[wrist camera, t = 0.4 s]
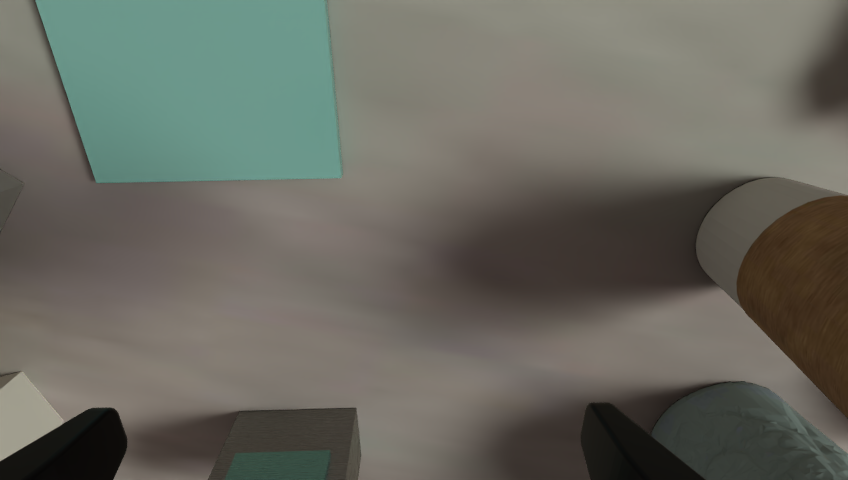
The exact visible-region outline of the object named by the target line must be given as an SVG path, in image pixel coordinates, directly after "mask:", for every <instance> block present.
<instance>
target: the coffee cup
mask: <svg viewBox="0 0 848 480" xmlns="http://www.w3.org/2000/svg"><path fill="white" fill-rule="evenodd" d="M696 254H697V258H698V261H699V264H700V265H701V267H702V268H703V270H704V271H705V272H706V274H707V275H708V276H709V277H710V278H711V279H712V280H714V281H715V282H716V283H717V284H718V285H719V286H720V287H721V288H722V289H723V290H724V291H725V292H726V293H727V294H728V295H729V296H730V297H731V298H732V299H733V300H734V301H735V302H736V303H737V304H738V305H739V306H740V307H741V308H742V309H743V310H744V311H745V313H746V314H747V315H748V316H749V317H750V318H751V319H752V320H753V321H754V322H755V323H756V324H757V325H758V326H759V327H760V328H761V329H762V330H763V331H764V332H765V333H766V335H767V336H768V337H769V338H770V339H771V340H772V341H773V342H774V343H775V344H776V345H777V346H778V347H779V348H780V349H781V350H782V351H783V352H784V353H785V354H786V355H787V356H788V357H789V358H790V359H791V360H792V361H793V362H794V363H795V364H796V365H797V367H798V368H799V369H800V370H801V371H802V372H803V373H804V374H805V375H806V376H807V377H808V378H809V379H810V380H811V381H812V382H813V383H814V384H815V385H816V386H817V387H818V388H819V389H820V390H821V391H822V392H823V393H824V394H825V395H826V396H827V397H828V398H829V400H830V401H831V402H832V403H833V404H834V405H835V406H836V407H837V408H838V409H839V410H840V411H841V412H842V413H843V414H844V415H845V416H846V417H847V418H848V195H845V194H841V193H838V192H834V191H830V190H827V189H823V188H819V187H816V186H812V185H808V184H805V183H801V182H797V181H794V180H790V179H785V178H773V177H772V178H764V179H758V180H755V181H752V182H748V183H746V184H744V185H742V186H740V187H738V188H735V189H734V190H732V191H731V192H729V193H728V194H726V195H725V196H724V197H723V198H722V199H720V200H719V201H718V202H717V203H716V204H715V205H714V206H713V207H712V209H711V210H710V211H709V212H708V214H707V215H706V217H705V219H704V220H703V222H702V224H701V226H700V229H699V232H698V234H697V240H696Z"/></svg>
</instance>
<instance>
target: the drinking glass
mask: <svg viewBox="0 0 848 480" xmlns="http://www.w3.org/2000/svg"><path fill="white" fill-rule="evenodd" d="M651 436H652V437H653V438H655V439H656V440H657V441H658V442H660V443H661V444H662V445H663V446H665V447H666V448H667V449H668V450H670V451H671V452H672V453H673V454H675V455H676V456H677V457H678V458H680V459H681V460H682V461H683V462H685V463H686V464H687V465H688V466H690V467H691V468H692V469H693V470H695V471H696V472H697V473H698V474H700V475H701V476H702V477H703V478H704V479H706V480H848V454H847V453H846V452H845V451H843V450H842V449H841V448H840V447H839V446H837V445H836V444H835V443H834V442H833V441H831V440H830V439H829V438H828V437H827V436H825V435H824V434H823V433H822V432H820V431H819V430H818V429H817V428H815V427H814V426H813V425H812V424H810V423H809V422H808V421H807V420H805V419H804V418H803V417H802V416H801V415H799V414H798V413H797V412H796V411H795V410H794V409H792V408H791V407H790V406H789V405H788V404H787V403H786V402H784V401H783V400H782V399H781V398H780V397H779V396H778V395H776V394H775V393H773V392H772V391H770V390H769V389H768V388H765V387H762V386H759V385H756V384H753V383H746V382H745V381H742V382H736V383H732V382H728V383H720V384H717V385H713V386H710V387H706V388H703V389H700V390H698V391H696V392H693V393H690V394H689V395H688V396H685V397H683V398H682V399H680V400H678V401H677V402H676V403H674V404H673V405H672V406H670V407H669V408H668V409H667V410H666V411H665V412H664V414H663V415H662V416H661V417H660V419H659V420H658V422H657V423H656V424H655V427H654V429H653V431H652V434H651Z"/></svg>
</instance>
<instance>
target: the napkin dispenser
mask: <svg viewBox="0 0 848 480" xmlns="http://www.w3.org/2000/svg"><path fill="white" fill-rule="evenodd" d="M360 460H361V450H360V440H359V430H358V420H357V411H356V408H348V409H313V410H279V411H245V412H239V414H238V416H237V418H236V420H235V422H234V424H233V426H232V429H231V431H230V433H229V435H228V437H227V439H226V442H225V444H224V446H223V448H222V450H221V452H220V455H219V457H218V459H217V461H216V463H215V465H214V467H213V470H212V472H211V474H210V476H209V478H208V480H358V476H359V468H360Z"/></svg>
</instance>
